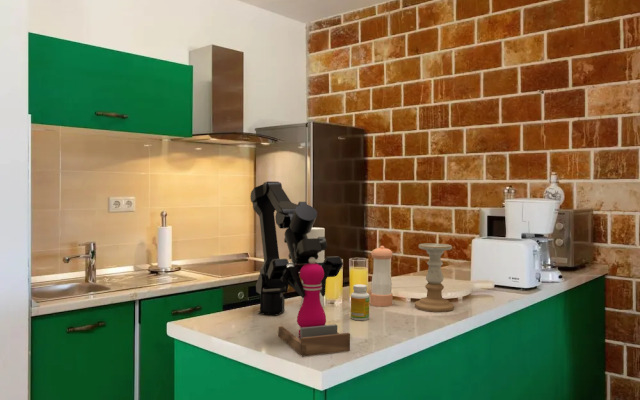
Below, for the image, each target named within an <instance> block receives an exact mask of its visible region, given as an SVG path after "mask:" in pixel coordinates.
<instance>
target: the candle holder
mask: <svg viewBox="0 0 640 400" xmlns="http://www.w3.org/2000/svg"><path fill="white" fill-rule="evenodd" d="M418 248H419V249H421V250H424V251H426V253H427V254H428V256H429V257H428V258H429V259H428V261H427V262H426V264H427V265H428V270H427V272H426V276H425V280H426V282H427V283H426V284H425V286H424V287H425V289H426V290H427V292H426V296H424V297H421V298H420V299H419V300H417V301H415V302H414V308H416V309H417V310H421V311H422V312H424V311H425V312H433V313H447V312H451V311H453V310H454V309H455V305H454V303H452V302H450V301H449V299H447V298H443V292H442V291H443V290H444V288H445V286H444V285H443V283H442V282H443V281H444V275H443V272H442V266H443V265H444V263H443V262H442V260H441V257H442V255H443V254H444V252H445V251H450V250H452V249H453V246H452V245H451V244H448V243H447V244H446V243H433V242H432V243H431V242H429V243H419V244H418Z"/></svg>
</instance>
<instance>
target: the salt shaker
mask: <svg viewBox="0 0 640 400" xmlns="http://www.w3.org/2000/svg"><path fill="white" fill-rule="evenodd" d="M370 255H371V257H372V259H373V267H372V268H373V271H372V272H373V273H372V278H371V292H370V294H369V305H371V306H375V307H391V306H393V300H394V299H393V295H394V294H393V293H392V286H393V283H392V277H391V276H392V275H391V259H392V258H393V255H394V254H393V251H392V250H391V249H389V248H386V247H385V246H384V245H380V246H379V248H378V247H377V248H375V249H372V251H371V253H370Z"/></svg>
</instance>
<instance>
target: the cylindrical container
mask: <svg viewBox="0 0 640 400" xmlns="http://www.w3.org/2000/svg"><path fill="white" fill-rule="evenodd" d="M325 234H326V231H325V228H324V227H312V229H311V231H310V232H309V233H307V237H308V239H312V238H318V237H325ZM325 238H326V237H325ZM324 260H325V250H322V251H321V252H319V253H318V259H316V262H318V263H323V262H324ZM301 283H303V280H302V279H301ZM303 299H304V298H302V297H301V304H302V303H303ZM320 302H321V305H322V308H323V309H324V307H325V295H324V296H322V295H321V293H320Z"/></svg>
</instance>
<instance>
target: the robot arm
mask: <svg viewBox="0 0 640 400" xmlns="http://www.w3.org/2000/svg"><path fill="white" fill-rule="evenodd" d="M250 202H251V203H252V208H253V211H254V212H255V213H256V214H257V215H258V218H259V225H260V234H261V235H260V236H261V245H262V254H263V263H262V264H261V267H260V269H259V275H258V277H257V278H258V279H257V281H256V283H255V292H256V293H257V294H259V299H260V300H259V301H260V303H259V306H260V307H259V309H260V311H258V312H257V315H268V316H269V315H270V316H280V315H281V314H282V313H284V312H285V303H286V302H285V297H284V293H285V294H286V293H288V289H289V287H291V288H292V289H293V290H294V291H295V292H296V293H297V294H298V295H299V296H300V297H301V299H302V298H304V297H305V293H304V289H303V286H302V279H301V278H300V270H301V268H302V267H303V266H304V265H305V264H308V263H309V258H310V257H314V258H315V259H318V253H319V252H321V251H322V250H324V251H325V250H326V249H328V243H327V239H326V237H318V238H312V239H308V237H307V233H309V232H310V231H311V229H312V228H313V226H314V224H315V221H316V219H317V216H318V211H317V210H316V209H315V208H314V207H313V206H311V205H309V204H308V203H307V201H298V203H294V202H292V201H291V200H290V198H289V196H288V195H287V194H286V191H285V190H284V188H283V186H282V183H281V182H280V181H269V180H268V181H265V182H263V183H262V184H260V185H258V186H255V187H254V188H253V189H252V190H251V192H250ZM276 225H277V226H278V228H279V229H282V230H283V229H284V230H285V229H286V230H285V231H284V233H283V234H284V243H285V244H286V245H287V249H288V253H289V254H288V259H289V260H291V261H289V260H288V259H287V258H280V253H279V245H278V236H277V227H276ZM315 263H316V264H318V265H320V266H321V267H322V268H323V270H324V278H323V279H322V281H321V282H320V283H322V285H321V286H322V289H321V290H320V293H321V295H322V296H324V297H325V295H326V288H327V287H326V286H327V285H326V283H327V282H326V281H327V279H328V278H335V277H337V276H338V274H339V273H340V271H341V269H342V267H343V265H344V262H343V259H342V258H341V257H340V256H335V255H334V256H325V257H324V262H323V263H318V262H315Z"/></svg>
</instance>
